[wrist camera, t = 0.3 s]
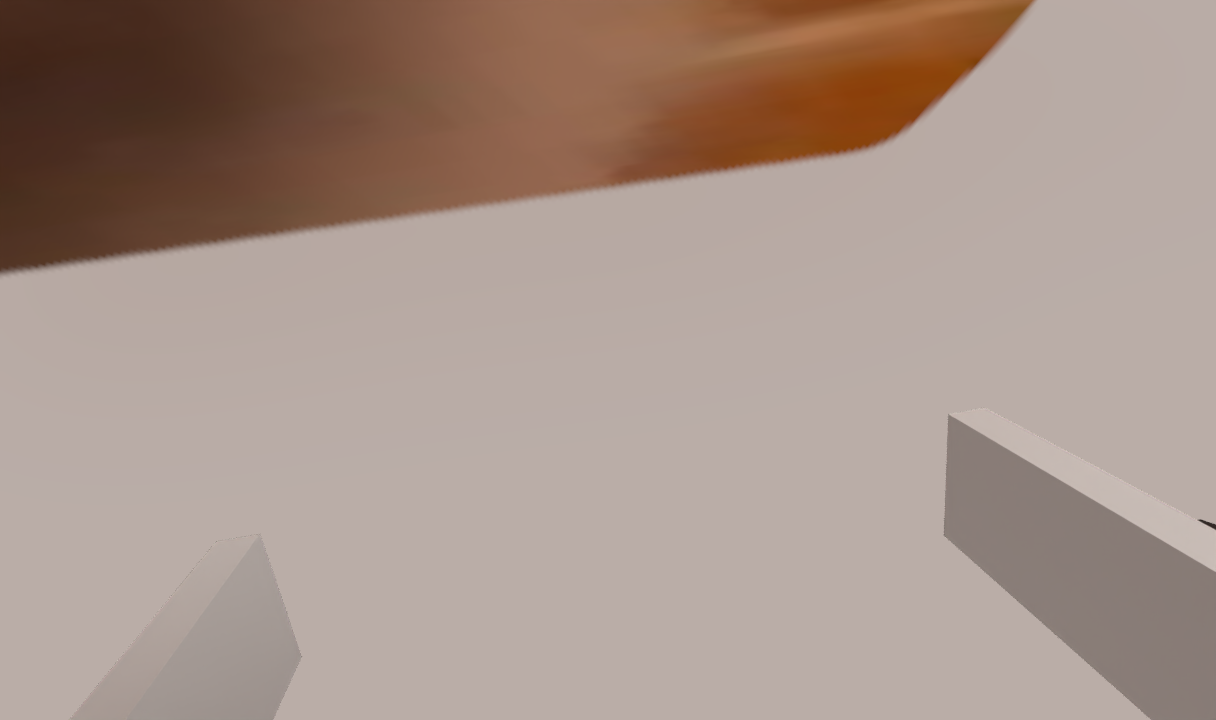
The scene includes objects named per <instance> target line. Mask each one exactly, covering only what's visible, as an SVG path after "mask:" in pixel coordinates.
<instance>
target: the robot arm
mask: <svg viewBox="0 0 1216 720" xmlns="http://www.w3.org/2000/svg"><path fill="white" fill-rule="evenodd" d="M946 466H947V467H946V491H945V518H944V519H945V520H944V536H945V537H946V538H947V539H948V540H950V541H951V542H952V543H953V544H954V545H955V546H956V547H958V548H959V549H960V550H961V551H962V552H963V553H964V554H965V555H967V556H968V557H969V558H970V559H971V560H972V561H973V562H974V563H975V564H977V565H978V566H979V567H980V568H981V569H982V570H983V571H984V572H986V573H987V574H988V575H989V576H990V577H991V578H992V579H993V580H995V581H996V582H997V583H998V584H999V585H1000V586H1001V587H1003V588H1004V589H1005V590H1006V591H1007V592H1008V593H1009V594H1010V595H1011V596H1013V597H1014V598H1015V599H1016V600H1017V601H1018V602H1019V603H1020V604H1022V605H1023V606H1024V607H1025V608H1026V609H1027V610H1028V611H1029V612H1031V613H1032V614H1033V615H1034V616H1035V617H1036V618H1038V619H1039V620H1040V621H1041V622H1042V623H1043V624H1044V625H1045V626H1046V627H1048V628H1049V629H1050V630H1051V631H1052V632H1053V633H1054V634H1055V635H1057V636H1058V637H1059V638H1060V639H1061V640H1062V641H1063V642H1064V643H1066V644H1067V645H1068V646H1069V647H1070V648H1071V649H1072V650H1074V651H1075V652H1076V653H1077V654H1078V655H1079V656H1080V657H1081V658H1083V659H1084V660H1085V661H1086V662H1087V663H1088V664H1089V665H1090V666H1091V667H1093V668H1094V669H1095V670H1096V671H1097V672H1098V673H1099V674H1100V675H1102V676H1103V677H1104V678H1105V679H1106V680H1107V681H1108V682H1109V683H1111V684H1112V685H1113V686H1114V687H1115V688H1116V689H1117V690H1119V691H1120V692H1121V693H1122V694H1123V695H1124V696H1125V697H1126V698H1127V699H1129V700H1130V701H1131V702H1132V703H1133V704H1134V705H1135V706H1137V707H1138V708H1139V709H1140V710H1141V711H1142V712H1143V713H1144V714H1146V715H1147V716H1148V717H1149V718H1150V719H1151V720H1216V525H1215V524H1212V523H1209V522H1206V521H1203V520H1196V519H1194V518H1192V517H1190V516H1188V515H1187V514H1185V513H1183V512H1181V511H1179V510H1177V509H1175V508H1173V507H1171V506H1170V505H1168V504H1166V503H1164V502H1162V501H1160V500H1158V499H1156V498H1154V497H1152V496H1151V495H1149V494H1147V493H1145V492H1143V491H1141V490H1139V489H1138V488H1136V487H1134V486H1132V485H1130V484H1128V483H1126V482H1124V481H1122V480H1120V479H1119V478H1117V477H1115V476H1113V475H1111V474H1109V473H1107V472H1105V471H1103V470H1102V469H1100V468H1098V467H1096V466H1094V465H1092V464H1090V463H1088V462H1087V461H1085V460H1083V459H1081V458H1079V457H1077V456H1075V455H1073V454H1071V453H1070V452H1068V451H1066V450H1064V449H1062V448H1060V447H1058V446H1056V445H1054V444H1052V443H1051V442H1049V441H1047V440H1045V439H1043V438H1041V437H1039V436H1037V435H1036V434H1034V433H1032V432H1030V431H1028V430H1026V429H1024V428H1022V427H1020V426H1019V425H1016V424H1015V423H1013V422H1011V421H1009V420H1007V419H1005V418H1003V417H1002V416H999V415H998V414H996V413H994V412H992V411H990V410H988V409H987V408H981V409H975V410H970V411H964V412H958V413H952V414H948V437H947V464H946ZM301 657H302V656H301V653H300V650H299V647H298V644H297V641H296V638H295V636H294V633H293V630H292V627H291V624H290V621H289V618H288V615H287V612H286V609H285V606H284V603H283V600H282V597H281V594H280V591H279V588H278V585H277V583H276V579H275V577H274V574H273V571H272V568H271V565H270V562H269V559H268V556H267V553H266V550H265V547H264V544H263V541H262V538H261V535H260V534H256V535H250V536H244V537H239V538H233V539H227V540H221V541H216V542H215V543H214V545H213V546H212V547H211V548H210V549H209V551H208V552H207V553H206V554H205V556H204V557H203V558H202V559H201V560H200V561H199V563H198V564H197V565H196V566H195V568H194V569H193V570H192V571H191V572H190V574H189V575H188V576H187V577H186V578H185V580H184V581H183V582H182V583H181V585H180V586H179V587H178V588H177V589H176V591H175V592H174V593H173V594H172V595H171V597H170V598H169V599H168V600H167V602H166V603H165V604H164V605H163V606H162V608H161V609H160V610H159V611H158V612H157V614H156V615H155V616H154V617H153V619H152V620H151V621H150V622H149V624H148V625H147V626H146V627H145V629H144V630H143V631H142V632H141V633H140V634H139V635H138V637H137V638H136V639H135V640H134V642H133V643H132V644H131V645H130V646H129V648H128V649H127V650H126V651H125V653H124V654H123V655H122V656H121V657H120V659H119V660H118V661H117V662H116V663H115V665H114V666H113V667H112V668H111V669H110V671H109V672H108V673H107V674H106V675H105V677H104V678H103V679H102V681H101V682H100V683H99V684H98V685H97V686H96V688H95V689H94V690H93V691H92V692H91V694H90V695H89V696H88V697H87V699H86V700H85V701H84V702H83V704H82V705H81V706H80V707H79V708H78V709H77V711H76V712H75V713H74V714H73V716H72V717H71V718H70V719H69V720H273V719H274V716H275V714H276V712H277V710H278V708H279V706H280V703H281V701H282V699H283V697H284V694H285V692H286V690H287V688H288V685H289V684H290V681H291V679H292V677H293V675H294V673H295V671H296V668H297V666H298V664H299V662H300V659H301Z"/></svg>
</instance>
